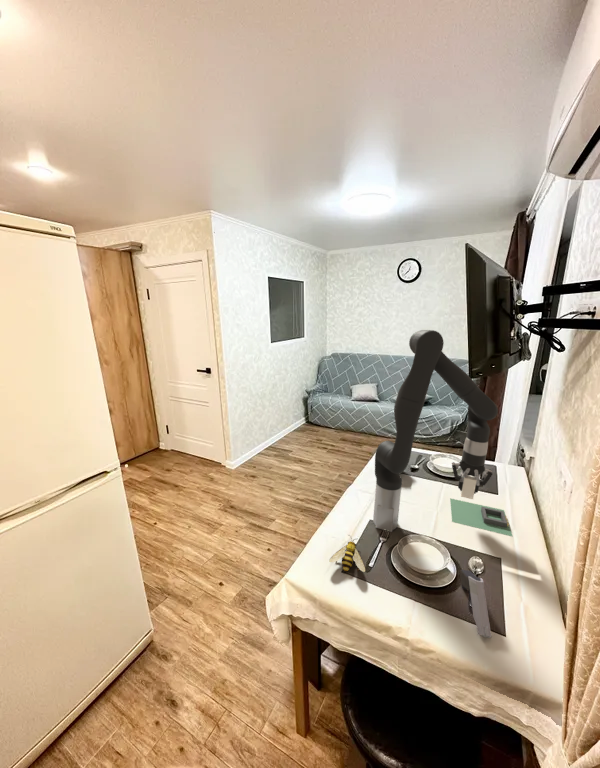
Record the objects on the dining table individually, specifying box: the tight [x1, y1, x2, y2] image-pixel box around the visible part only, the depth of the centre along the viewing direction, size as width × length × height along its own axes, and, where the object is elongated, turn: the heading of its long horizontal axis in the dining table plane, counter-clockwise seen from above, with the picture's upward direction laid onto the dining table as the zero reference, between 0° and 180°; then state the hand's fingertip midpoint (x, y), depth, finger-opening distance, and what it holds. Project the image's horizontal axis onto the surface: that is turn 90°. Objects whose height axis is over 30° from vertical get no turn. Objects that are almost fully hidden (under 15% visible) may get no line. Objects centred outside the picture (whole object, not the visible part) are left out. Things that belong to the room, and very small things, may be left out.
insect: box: [329, 534, 366, 573], centre depth 104 cm, size 11×15×5 cm
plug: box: [460, 475, 477, 500], centre depth 119 cm, size 5×4×8 cm
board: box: [449, 498, 513, 537], centre depth 124 cm, size 16×20×3 cm
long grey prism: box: [459, 569, 492, 638], centre depth 88 cm, size 4×15×12 cm
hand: (467, 490), depth 119 cm, fingers closed on plug, 4 cm apart
